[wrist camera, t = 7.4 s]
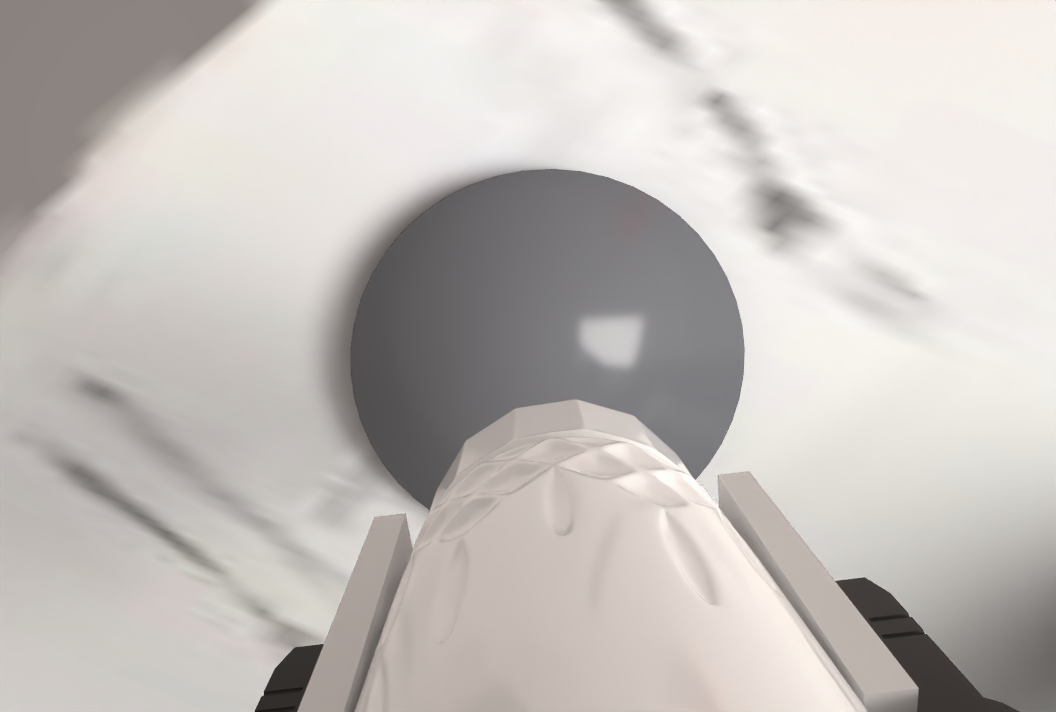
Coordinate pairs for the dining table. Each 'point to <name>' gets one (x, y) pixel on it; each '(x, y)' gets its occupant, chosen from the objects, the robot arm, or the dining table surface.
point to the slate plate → (543, 321)
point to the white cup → (589, 586)
